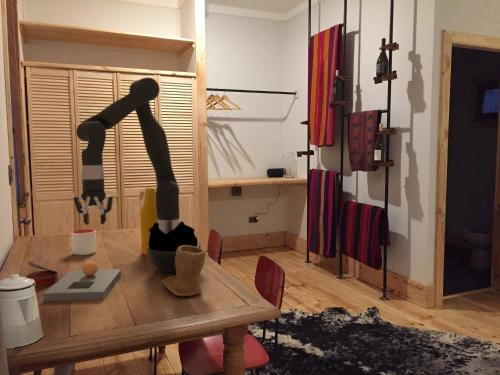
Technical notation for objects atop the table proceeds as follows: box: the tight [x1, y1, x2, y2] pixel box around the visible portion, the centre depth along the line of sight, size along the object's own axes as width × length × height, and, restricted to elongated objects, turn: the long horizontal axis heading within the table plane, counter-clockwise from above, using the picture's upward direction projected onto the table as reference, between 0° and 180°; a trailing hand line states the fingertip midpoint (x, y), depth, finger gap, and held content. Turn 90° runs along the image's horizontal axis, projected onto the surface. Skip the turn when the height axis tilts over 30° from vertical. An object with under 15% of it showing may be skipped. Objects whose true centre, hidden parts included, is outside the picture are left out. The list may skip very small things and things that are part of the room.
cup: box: [71, 228, 97, 256], centre depth 188 cm, size 10×10×10 cm
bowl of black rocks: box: [147, 220, 201, 273], centre depth 160 cm, size 20×20×19 cm
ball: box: [81, 261, 99, 276], centre depth 148 cm, size 5×5×5 cm
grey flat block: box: [43, 268, 122, 302], centre depth 143 cm, size 18×24×2 cm
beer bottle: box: [139, 187, 157, 256], centre depth 187 cm, size 9×9×29 cm
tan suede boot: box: [162, 245, 206, 297], centre depth 139 cm, size 15×12×15 cm
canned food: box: [26, 261, 59, 288], centre depth 149 cm, size 11×10×10 cm
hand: (94, 223), depth 154 cm, fingers open, 5 cm apart
